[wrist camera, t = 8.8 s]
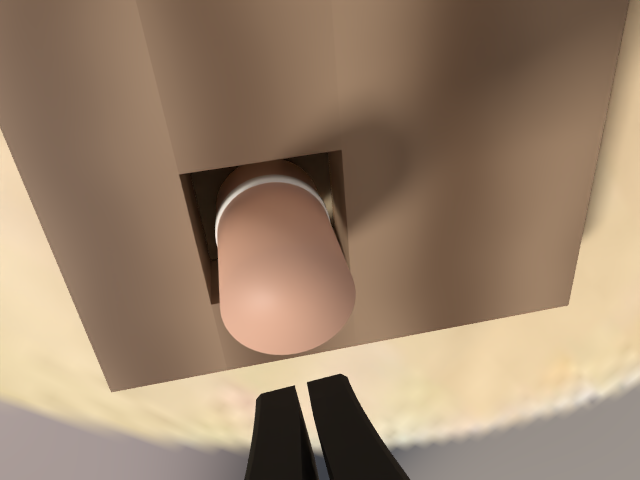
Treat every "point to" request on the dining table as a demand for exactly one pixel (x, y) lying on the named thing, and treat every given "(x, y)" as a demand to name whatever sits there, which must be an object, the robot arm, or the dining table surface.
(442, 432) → the dining table surface
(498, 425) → the dining table surface
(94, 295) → the board
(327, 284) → the peg
